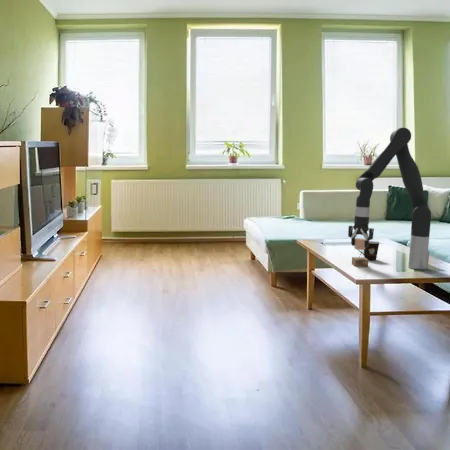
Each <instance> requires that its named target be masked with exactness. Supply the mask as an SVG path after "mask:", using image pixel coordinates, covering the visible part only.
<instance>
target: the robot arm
mask: <svg viewBox="0 0 450 450" xmlns="http://www.w3.org/2000/svg"><path fill="white" fill-rule="evenodd" d="M411 139H412V132H411V131H410V129H408V128H407V127H399V128H397V129H395V130H393V131H392V132H391V134H390V136H389V140H390V142H389V143H388V145H387V146H386V147H385V148H384V150H383V151H381V153H380V154H379V155H378V156H377V157H376V158H375V159H374V160H373V162H372V163H371V165H370V166H368V168H367V169H366V170H365V171H364V172H362V174H361V175H360V176H358V178H357V180H356V182H355V188H356V190H358V191H359V195H358V196H357V197H356V199H355V200H356V201H355V202H356V203H355V211H354V221H353V225H348V231H347V233H348V234H347V236H348V238H351V241H350V244H351V246H353V247H354V239H355V238H356V237H357V236H358V235H360V236H363V239H365V247H366V248H367V247H368V246H369V241H370V240H371V241H372V240H373V239H374V231H375V228H374V227H371V228H370V227H369V224H370V213H371V211H370V207H371V197H372V194H373V192H374V191H373V190H374V182H373V181H374V180H375V179H378V178H379V177H380V176H381V175H382V174H383V172H384V171H385V169H386V168H387V166H388V165H389V164H390V162H392V160H393V159H394V158H395V156H396V160H397V164H398V168H399V172H400V175H401V179H402V182H403V185H404V188H405V190H406V193H407V195H408V196H409V200H410V203H411V209H412V214H411V230H410V243H409V256H408V257H409V258H408V268H410V269H413V270H428V269H429V262H430V261H429V260H430V251H429V247H430V246H429V245H430V244H429V243H430V236H431V235H430V232H431V223H432V222H431V221H432V211H431V209H430V207H429V204H428V202H427V199H426V197H425V192H424V186H423V181H422V176H421V173H420V170H419V169H420V168H419V167H418V165H417V163H416V161H415V160H414V158H413V157H412V155H411V152H410V149H409V145H408V144H409V142H410V141H411Z"/></svg>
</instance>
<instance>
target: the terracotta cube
mask: <svg viewBox="0 0 450 450" xmlns="http://www.w3.org/2000/svg"><path fill="white" fill-rule="evenodd" d="M353 248H354V249H355V250H358V249H359V250H364V249H365V238H359V237H358V238H356V237H355V239H354V246H353Z"/></svg>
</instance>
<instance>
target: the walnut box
mask: <svg viewBox="0 0 450 450" xmlns="http://www.w3.org/2000/svg"><path fill="white" fill-rule="evenodd" d="M351 265H352V266H353V267H356V268H357V267H358V266H359V267H360V268H362V267H363V268H369V260H368V259H366V258H364V257H359V256H358V257H357V256H353V257H351Z"/></svg>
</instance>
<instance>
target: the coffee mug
mask: <svg viewBox="0 0 450 450" xmlns="http://www.w3.org/2000/svg"><path fill="white" fill-rule="evenodd" d="M379 247H380V242H379V241H372V240H371V241H370V240H369V246H368V247H367V248H366V247H365V249H363V252H362V251H361V249H357V251H358V252H360V253H361V254H362V256H364V257H363V258H366V259H368V261H369V260H370V261H371V262H373V261H377V257H378V252H379Z"/></svg>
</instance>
